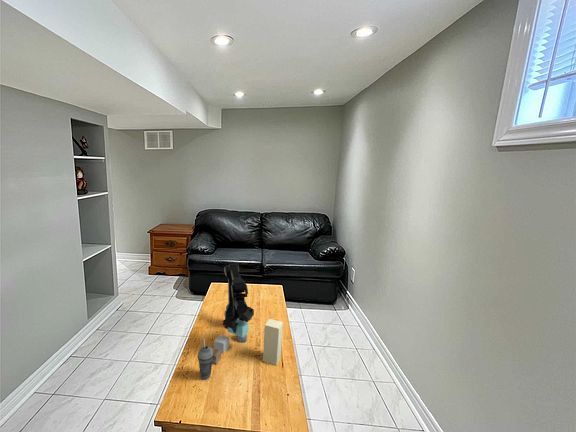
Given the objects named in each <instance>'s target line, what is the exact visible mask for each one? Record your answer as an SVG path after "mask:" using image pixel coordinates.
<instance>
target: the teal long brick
mask: <svg viewBox="0 0 576 432" xmlns="http://www.w3.org/2000/svg"><path fill="white" fill-rule="evenodd" d="M237 323H239V324H238V325H237V327H236V333H234V332H233V330H232V328H229V327H228V328H227V332H228V333H230V334H232V335H234V336H237V337H238V336H239V337H242V338H243V337H244V336H245V335H246V334H247V335H248V333H249V322H245V321H242V320H239V319H238V320H237Z"/></svg>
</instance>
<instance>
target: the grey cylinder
mask: <svg viewBox="0 0 576 432" xmlns="http://www.w3.org/2000/svg"><path fill="white" fill-rule="evenodd" d="M247 340H248V333H247V334H246V335H245V336H244V337H243V338H242V337H239V336H237V342H238V343H240V344H242V343H247Z"/></svg>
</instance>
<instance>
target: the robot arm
mask: <svg viewBox="0 0 576 432" xmlns="http://www.w3.org/2000/svg"><path fill="white" fill-rule="evenodd" d="M223 271H224V274H225V277H226V278H227V289H228V290H227V295H228V298H227V299H228V303H227V305H226V307H225V311H224V313H223V315H224V320H222V326H224V327H223V328H225V329H228V327H229V328H232V330H233V332H234V333H236V327H237V325H238V324H239V323H237V320H238V319H239V320H242V321H244V322H247V323H249V321H251V320H252V318H253V317H254V315H255V314H254V313H255V310H254V308H253V307H250V306H248V304H247V302H246V298H247V297H248V294H249V289H248V285H247V283H246V282H245V280H244V279H243V278H241V275H240V266H239V264H238V263H230V264H228V265H225V266H224V269H223Z"/></svg>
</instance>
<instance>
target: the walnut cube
mask: <svg viewBox="0 0 576 432" xmlns="http://www.w3.org/2000/svg"><path fill="white" fill-rule="evenodd" d="M211 348H212V350H213V359H212V365H214V366H217V365H218V363H219V362H220V360H221V359H222V356H221V355H222V353H221V350H218V349H214V347H211Z"/></svg>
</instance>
